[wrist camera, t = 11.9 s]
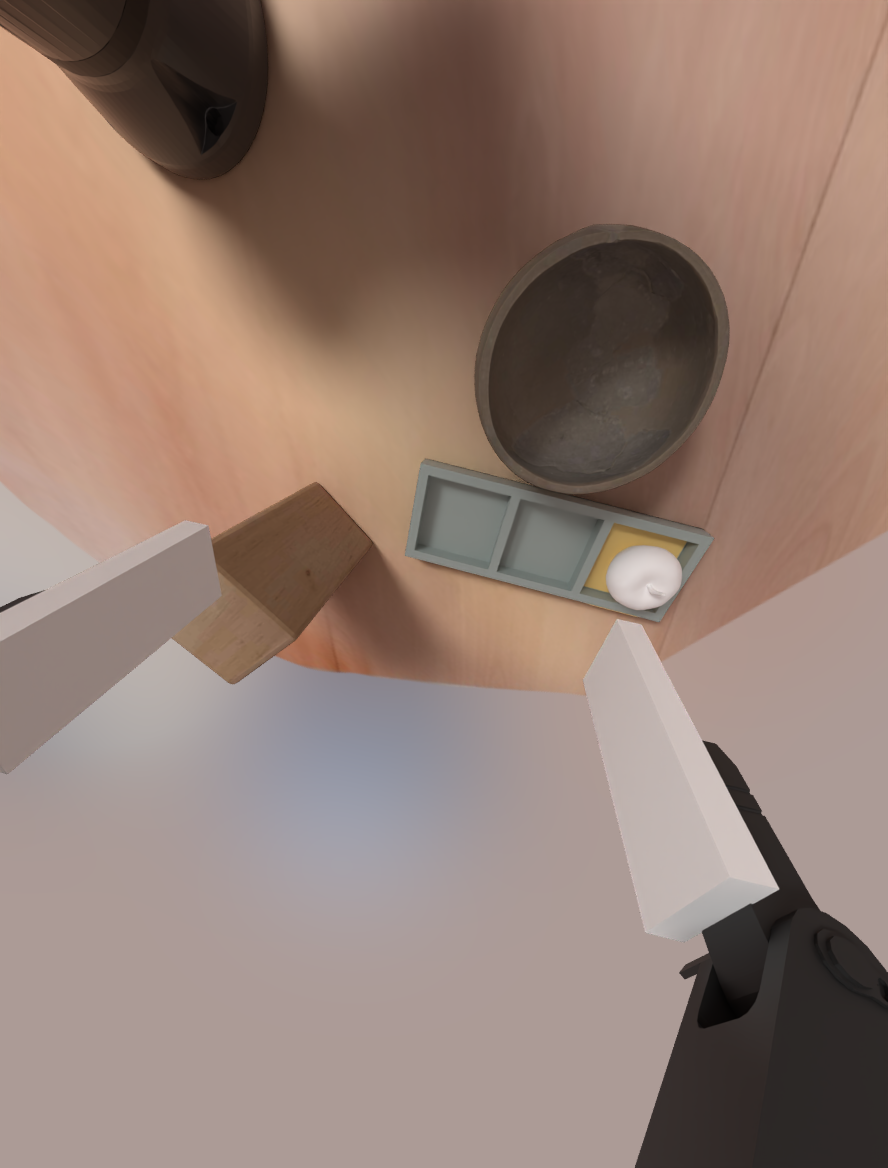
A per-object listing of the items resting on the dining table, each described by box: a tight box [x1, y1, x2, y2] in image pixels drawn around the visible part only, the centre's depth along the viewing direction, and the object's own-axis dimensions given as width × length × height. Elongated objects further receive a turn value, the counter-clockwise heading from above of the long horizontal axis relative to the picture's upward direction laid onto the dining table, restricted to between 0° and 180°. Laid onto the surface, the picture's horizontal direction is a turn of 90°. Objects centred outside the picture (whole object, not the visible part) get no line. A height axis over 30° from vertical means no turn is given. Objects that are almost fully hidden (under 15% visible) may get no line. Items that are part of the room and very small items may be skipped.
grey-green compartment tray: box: [405, 459, 714, 622], centre depth 41 cm, size 11×31×3 cm, turn 78°
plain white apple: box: [606, 545, 682, 610], centre depth 38 cm, size 7×7×8 cm
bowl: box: [475, 224, 729, 494], centre depth 30 cm, size 17×18×10 cm
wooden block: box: [172, 482, 372, 684], centre depth 38 cm, size 10×10×20 cm
